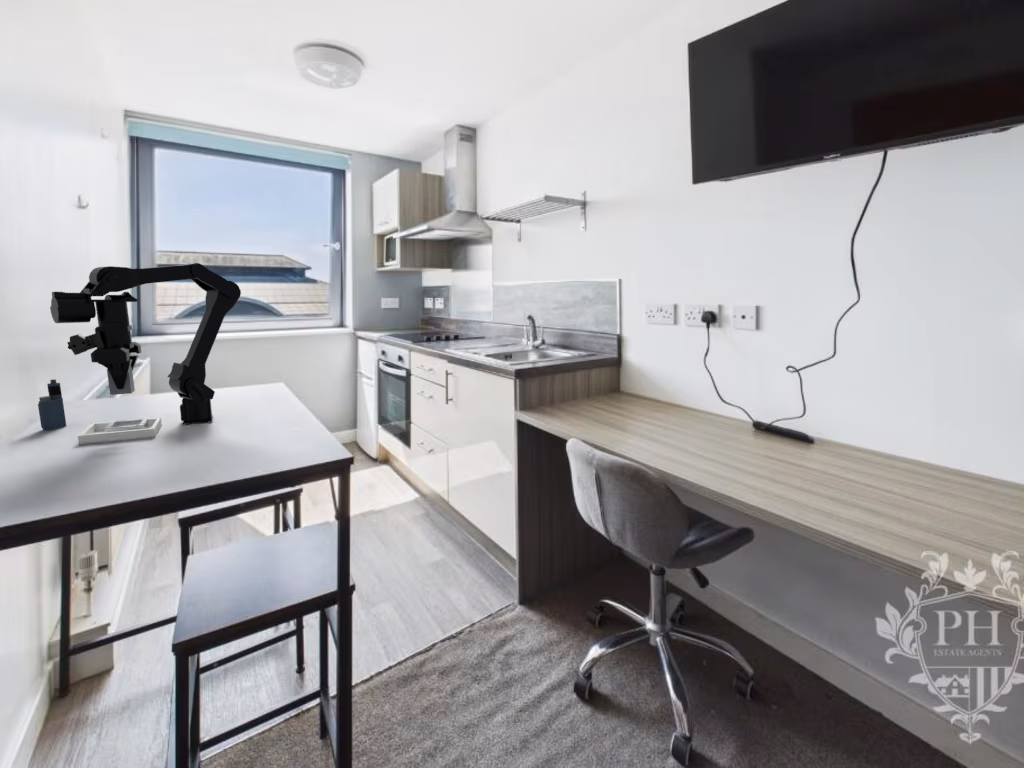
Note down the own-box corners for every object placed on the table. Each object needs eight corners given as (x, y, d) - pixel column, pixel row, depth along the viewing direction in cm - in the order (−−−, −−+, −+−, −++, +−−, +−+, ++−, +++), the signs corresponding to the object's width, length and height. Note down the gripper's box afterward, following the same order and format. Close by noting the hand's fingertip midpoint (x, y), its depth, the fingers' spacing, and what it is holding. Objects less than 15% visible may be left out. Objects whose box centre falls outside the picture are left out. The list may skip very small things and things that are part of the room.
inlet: (149, 427, 124) (148, 418, 124) (144, 434, 118) (143, 425, 117) (112, 430, 121) (111, 421, 120) (105, 438, 114) (104, 428, 114)
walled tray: (161, 425, 127) (161, 417, 127) (155, 436, 117) (154, 428, 117) (92, 431, 121) (91, 423, 120) (78, 444, 110) (77, 435, 110)
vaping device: (69, 425, 126) (62, 379, 124) (48, 430, 120) (41, 382, 118) (60, 425, 126) (53, 378, 124) (39, 430, 121) (31, 382, 119)
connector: (134, 390, 120) (131, 362, 119) (131, 393, 117) (127, 365, 116) (114, 391, 118) (110, 363, 117) (110, 394, 115) (106, 365, 114)
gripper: (80, 320, 119) (89, 383, 122) (55, 324, 103) (66, 397, 105) (137, 319, 124) (145, 380, 127) (121, 323, 108) (130, 393, 111)
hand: (122, 387), depth 117 cm, fingers closed on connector, 4 cm apart
